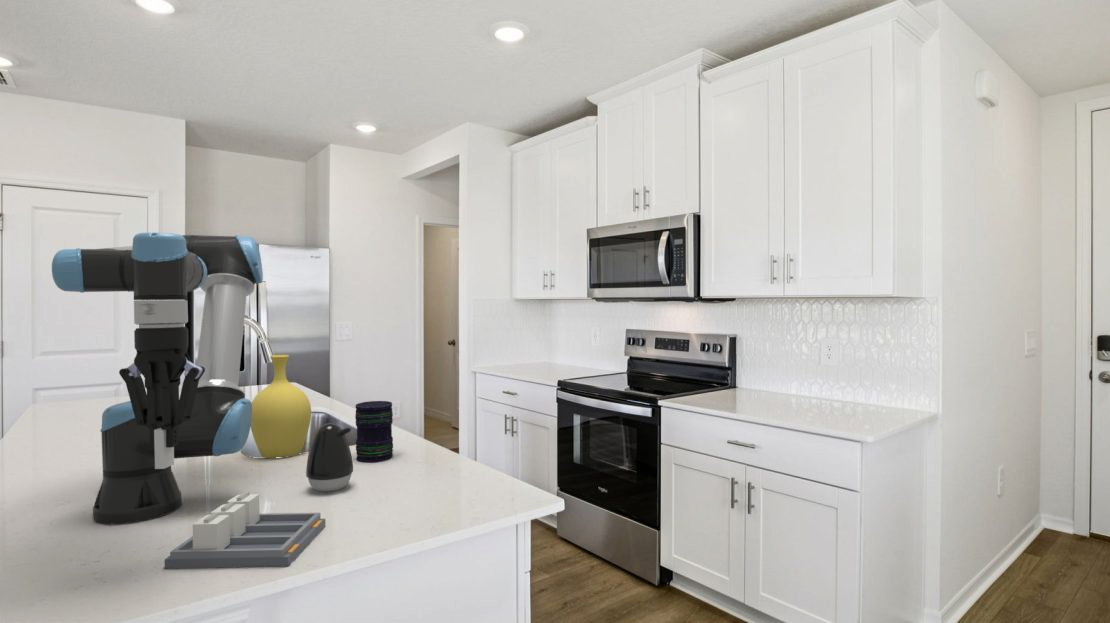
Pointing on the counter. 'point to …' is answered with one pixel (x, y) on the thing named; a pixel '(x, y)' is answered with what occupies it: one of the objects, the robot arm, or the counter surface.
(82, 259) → the robot arm
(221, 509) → the tab
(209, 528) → the tab
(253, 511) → the tab
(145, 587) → the counter surface
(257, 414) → the vase
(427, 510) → the counter surface
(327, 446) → the pump dispenser
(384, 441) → the storage jar
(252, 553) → the switch bank
